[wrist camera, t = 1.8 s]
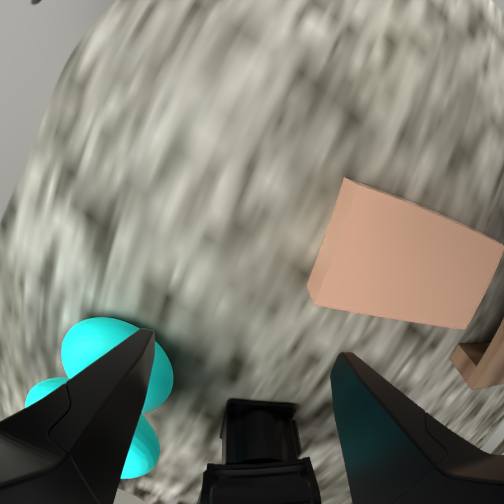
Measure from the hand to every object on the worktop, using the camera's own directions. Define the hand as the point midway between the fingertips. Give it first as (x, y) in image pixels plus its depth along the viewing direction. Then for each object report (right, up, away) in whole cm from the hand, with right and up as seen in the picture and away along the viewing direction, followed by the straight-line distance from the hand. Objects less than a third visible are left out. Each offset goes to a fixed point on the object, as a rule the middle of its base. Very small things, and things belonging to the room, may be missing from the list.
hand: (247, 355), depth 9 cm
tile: (+12, +3, +13) cm, 18 cm away
